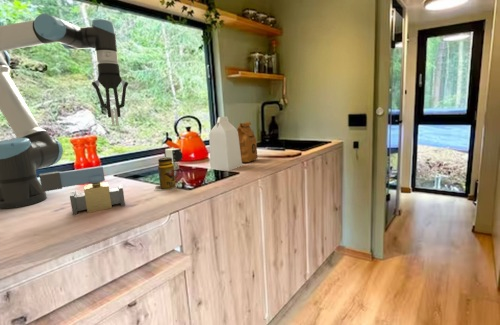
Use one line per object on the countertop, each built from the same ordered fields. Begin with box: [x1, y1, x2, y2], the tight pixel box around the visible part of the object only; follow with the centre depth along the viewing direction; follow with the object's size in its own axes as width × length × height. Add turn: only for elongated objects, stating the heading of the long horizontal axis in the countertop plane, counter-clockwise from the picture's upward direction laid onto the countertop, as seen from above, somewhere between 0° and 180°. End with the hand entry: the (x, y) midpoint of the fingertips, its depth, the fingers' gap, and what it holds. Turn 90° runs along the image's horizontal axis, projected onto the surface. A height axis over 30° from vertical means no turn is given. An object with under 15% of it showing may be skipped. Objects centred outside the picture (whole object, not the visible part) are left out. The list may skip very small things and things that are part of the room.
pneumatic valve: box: [163, 146, 184, 171], centre depth 155 cm, size 6×12×12 cm, turn 42°
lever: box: [38, 165, 106, 192], centre depth 93 cm, size 5×17×5 cm, turn 125°
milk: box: [208, 116, 243, 172], centre depth 151 cm, size 12×12×26 cm
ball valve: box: [69, 181, 126, 216], centre depth 97 cm, size 15×7×9 cm, turn 117°
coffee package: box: [236, 121, 258, 164], centre depth 165 cm, size 10×12×22 cm
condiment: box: [154, 157, 178, 192], centre depth 118 cm, size 7×8×12 cm
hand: (115, 125), depth 117 cm, fingers closed
